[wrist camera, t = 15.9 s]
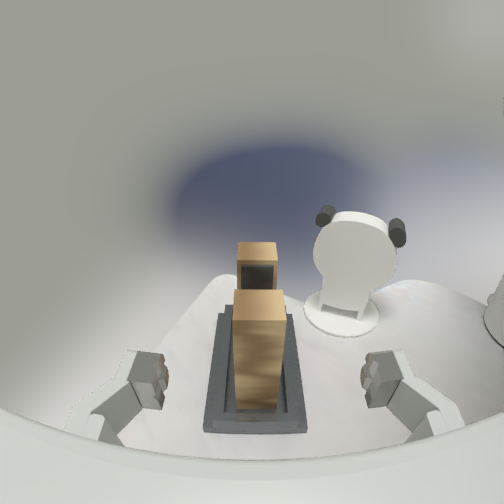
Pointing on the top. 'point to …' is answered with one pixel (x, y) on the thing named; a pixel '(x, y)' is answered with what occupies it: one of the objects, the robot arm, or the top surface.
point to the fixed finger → (257, 266)
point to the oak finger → (258, 346)
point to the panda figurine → (351, 270)
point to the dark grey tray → (223, 389)
